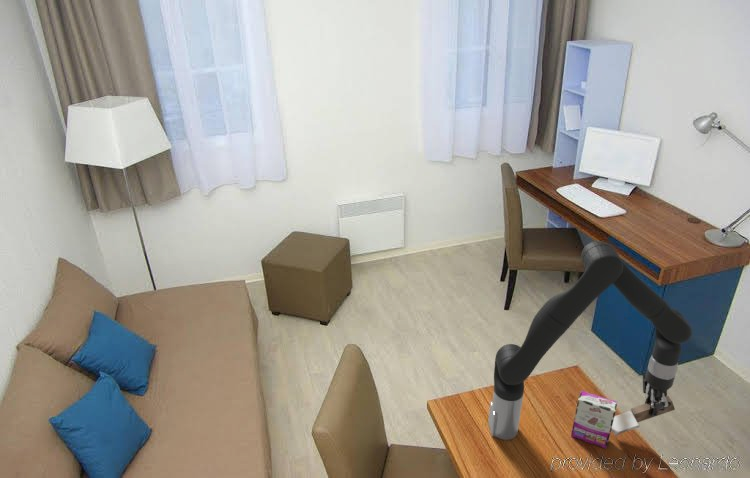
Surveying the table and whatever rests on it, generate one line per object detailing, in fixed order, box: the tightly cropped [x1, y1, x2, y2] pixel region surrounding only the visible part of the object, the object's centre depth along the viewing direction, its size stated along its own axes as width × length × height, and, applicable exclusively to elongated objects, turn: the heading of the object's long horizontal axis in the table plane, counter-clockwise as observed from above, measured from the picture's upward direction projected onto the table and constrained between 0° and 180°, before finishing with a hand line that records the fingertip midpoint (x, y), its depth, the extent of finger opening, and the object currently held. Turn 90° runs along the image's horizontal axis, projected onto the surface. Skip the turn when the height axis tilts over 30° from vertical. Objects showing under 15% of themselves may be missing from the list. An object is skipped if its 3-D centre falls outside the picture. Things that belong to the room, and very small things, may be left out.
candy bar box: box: [570, 390, 618, 449], centre depth 168 cm, size 11×5×16 cm, turn 61°
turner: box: [611, 395, 676, 436], centre depth 167 cm, size 20×6×4 cm, turn 89°
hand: (650, 411), depth 166 cm, fingers closed on turner, 2 cm apart
